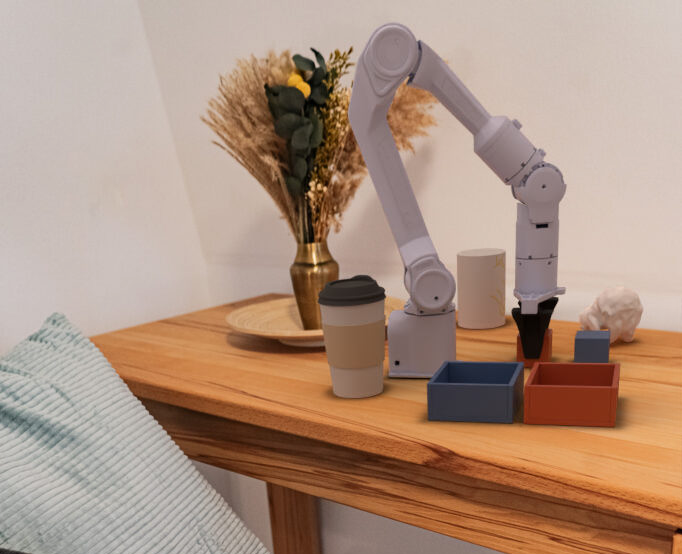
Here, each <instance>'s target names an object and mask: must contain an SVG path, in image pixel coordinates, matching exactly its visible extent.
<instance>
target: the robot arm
mask: <svg viewBox="0 0 682 554" xmlns="http://www.w3.org/2000/svg"><path fill="white" fill-rule="evenodd" d="M407 78H408V80H407ZM406 80H407V81H406ZM405 81H406V84H405V86H406V87H408V88H413V89H416V90H420V91H424V92H427V93H429V94H431V96H432V97H434V98H435V100H437V101H438V102H439V103H440V104H441V105H442V107H444V108H445V110H446V111H448V112H449V113H450V115H452V116H453V117H454V118H455V119H456V120H457V121H458V122H460V124H461V125H462V126H463V127H464V128H465V129H466V130H467V131H468V133H469V132H470V134H471V135H472V137H473V138H472V139H473V153H474V154H475V155H476V156H477V157H478V158H479V159H480V160H481V161H482V162H483V163H484V164H485V165H486V166H487V167H488V168H489V169H490V170H491V172H492V173H494V174H495V176H496V177H497V178H499V180H500V181H501V182H502V183H503V184H504V185H505V186H510V191H511V194H512V197H513V198H514V199H515V200H517V201H518V202H516V222H515V256H514V257H515V258H514V259H515V260H514V288H513V291H512V293H513V297H515V299H517V300H518V301H517V305H518V307H512V308H511V312H510V314H511V317H512V319H513V321H514V323H515V325H516V327H517V330H518V333H519V334H520V339H521V344H522V350H523V354H524V358H525V359H539V358H540V355H541V352H542V348H543V342H544V336H545V332H546V329H550V324H551V319H552V317H553V314H554V311H555V309H556V307H557V304H558V303H559V299H560V298H559V296H563V295H565V294H566V291H567V288H566V287H565V286H558V269H559V267H558V266H559V243H560V242H559V240H560V239H559V238H560V219H559V217H560V203H561V201H562V200H563V199H564V197H565V194H566V192H567V186H568V185H567V183H565V180H564V175H563V173H562V171H561V170H560V169H559V167H558V166H556V165H554V164H553V163H549V162H547V161H544V158H545V157H546V156H547V152H546V151H545V150H544V149H543V148H541V147H540V148H537V147H536V146H535V145H534V144H533V143H532V141H531V140H529V138H528V137H527V136H526V135H525V134H524V133H523V132H522V131H521V129H522V128H523V124H522V123H521V122H520V121H519V120H518V119H517V118H512V120H511V119H510V118H509V117H508V116H507V115H491V113H490V112H488V111H489V110H487V109H486V108H485V107H484V106H483V104H482V103H481V102H480V101H479V100H478V98H477V97H475V95H474V94H473V93H472V91H470V89H469V88H468V87H467V86H466V85H465V84H464V82H463V81H462V80H461V79H460V77H458V76H457V74H456V73H455V72H454V71H453V69H452V68H451V67H450V66H449V65H448V64H447V63H446V62H445V60H444V59H443V58H442V57H441V56H440V55H439V53H437V52H436V51H435V50H434V49H433V48H431V47H430V45H428V44H427V43H426V42H425V41H423V40H422V39H421V38H419V39H417V37H416V36H415V34H414V32H413V31H412V30H411V29H410V28H409V27H408V26H406V25H405V24H403V23H400V22H396V21H390V22H385V23H383V24H380V25H379V26H378V27H376V28H375V29H374V30H373V32H372V33H371V34H370V36H369V37H368V39H367V42H366V43H365V45H364V47H363V49H362V51H361V53H360V55H359V57H358V59H357V61H356V64H355V70H354V76H353V82H352V85H351V86H352V87H351V93H350V97H349V103H348V108H347V118H348V122H349V124H350V127H351V130H352V132H353V135H354V138H355V140H356V143H357V146H358V149H359V151H360V153H361V156H362V159H363V161H364V163H365V166H366V169H367V171H368V174H369V176H370V180H371V181H372V184H373V187H374V189H375V192H376V195H377V197H378V200H379V202H380V205H381V208H382V211H383V213H384V216H385V218H386V221H387V223H388V226H389V228H390V231H391V233H392V237H393V239H394V241H395V244H396V247H397V250H398V253H399V256H400V259H401V261H402V264H403V270H404V271H403V284H404V288H405V290H406V292H407V293H408V295H409V298H408V300H407V301H406V303H405V304H404V305H403V309H394V310H392V311H390V314H389V316H388V320H387V330H386V331H387V334H386V335H387V336H386V337H387V354H388V355H387V356H388V371H389V372H388V373H387V377H389V378H407V379H409V378H411V379H412V378H413V379H415V378H416V379H431V378H432V377H433V376H434V374H435V373H436V372H437V370H438V369H439V368H440V367H441V365H442V364H443V363H444V362H445V361H463V360H462V359H457V322H456V321H457V316H456V311H457V310H456V303H455V302H453V300H454V298H455V296H456V293H457V292H456V291H457V283H456V280H455V276H454V275H453V273H452V272H451V271H450V270H449V269H448V268H447V267H446V266H445V264H444V263H443V261H442V260H440V256H439V254H438V252H437V250H436V247H435V245H434V243H433V240H432V238H431V236H430V233H429V229H428V228H427V226H426V222H425V219H424V217H423V214H422V212H421V209H420V205H419V203H418V200H417V198H416V195H415V192H414V189H413V187H412V185H411V181H410V179H409V176H408V173H407V171H406V168H405V165H404V163H403V159H402V157H401V155H400V152H399V149H398V146H397V144H396V141H395V138H394V136H393V132H392V129H391V127H390V124H389V122H388V119H387V115H388V113H389V110H390V108H391V106H392V104H393V101H394V99H395V97H396V95H397V91H398V89H399V88H400V87H401V85H402V84H403V83H404V82H405ZM558 295H559V296H558Z"/></svg>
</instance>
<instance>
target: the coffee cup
mask: <svg viewBox="0 0 682 554" xmlns="http://www.w3.org/2000/svg"><path fill="white" fill-rule="evenodd" d="M317 295H318V299H317V303H318V304H319V309H320V316H321V321H320V324H321V329H322V335H323V341H324V347H325V354H326V360H327V364H328V366H329V371H330V378H331V386H332V391H333V394H334V396H337V397H338V398H339V397H340V398H344V399H362V398H369V397H374V396H377V395H379V394H381V393H382V392H383V391H384V367H385V366H384V365H385V364H384V363H385V359H386V324H387V323H386V322H387V321H386V319H387V318H386V317H387V316H386V314H385V310H386V309H385V308H386V307H385V304H386V303H385V302H386V298H387V295H386V289H385V287H383V286H380V285H379V284H378V282H377V280H376V279H374V278H373V277H372V276H371V275H368V274H356V275H354V276H352V277H349V278H342V279H336V280H335V279H334V280H331V281H328V282H326V283H325V284H324V287H323V289H322V290H321V291H319V292H318V294H317Z"/></svg>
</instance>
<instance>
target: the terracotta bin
mask: <svg viewBox="0 0 682 554" xmlns="http://www.w3.org/2000/svg"><path fill="white" fill-rule="evenodd" d="M620 374H621V362H616V363H615V362H609V363H574V362H555V361H553V362H552V361H551V362H535V364H534V366H533V367H531V371H530V373H529V375H528V377H527V379H526V382H525V383H524V397H523V424H525V425H547V426H550V425H551V426H574V427H575V426H577V427H578V426H579V427H606V428H614V427H616V419H617V411H618V402H619V392H620V378H621V377H620V376H621V375H620Z"/></svg>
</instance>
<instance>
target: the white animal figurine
mask: <svg viewBox="0 0 682 554" xmlns="http://www.w3.org/2000/svg"><path fill="white" fill-rule="evenodd" d="M643 312H644V305H643V304H642V303H641V298H640V297H639V294H638V293H637V292H636V291H635V290H632V289H631V288H629V287H627V286H625V285H617V286H609V287H606V288H605V289H604V290H603V291H601V293H599V294H598V295H597V296H596V298H595V300H594V301H593V302H592V304H590V305H589V304H588V306H586V307H584V308H583V310H582V311H581V312H580V313H579V324H580V325H579V326H578V327H579V329H580V330H581V331H611V333H610V345H612V344H613V343H614V342H615V341H616V340H617V339H619V337H620V338H621V340H622V341H623V342H625V343H631V342H633V340H634V336H635V334H636V329H637V327H638V326H639V325H640V322H641V320H642V314H643Z"/></svg>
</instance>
